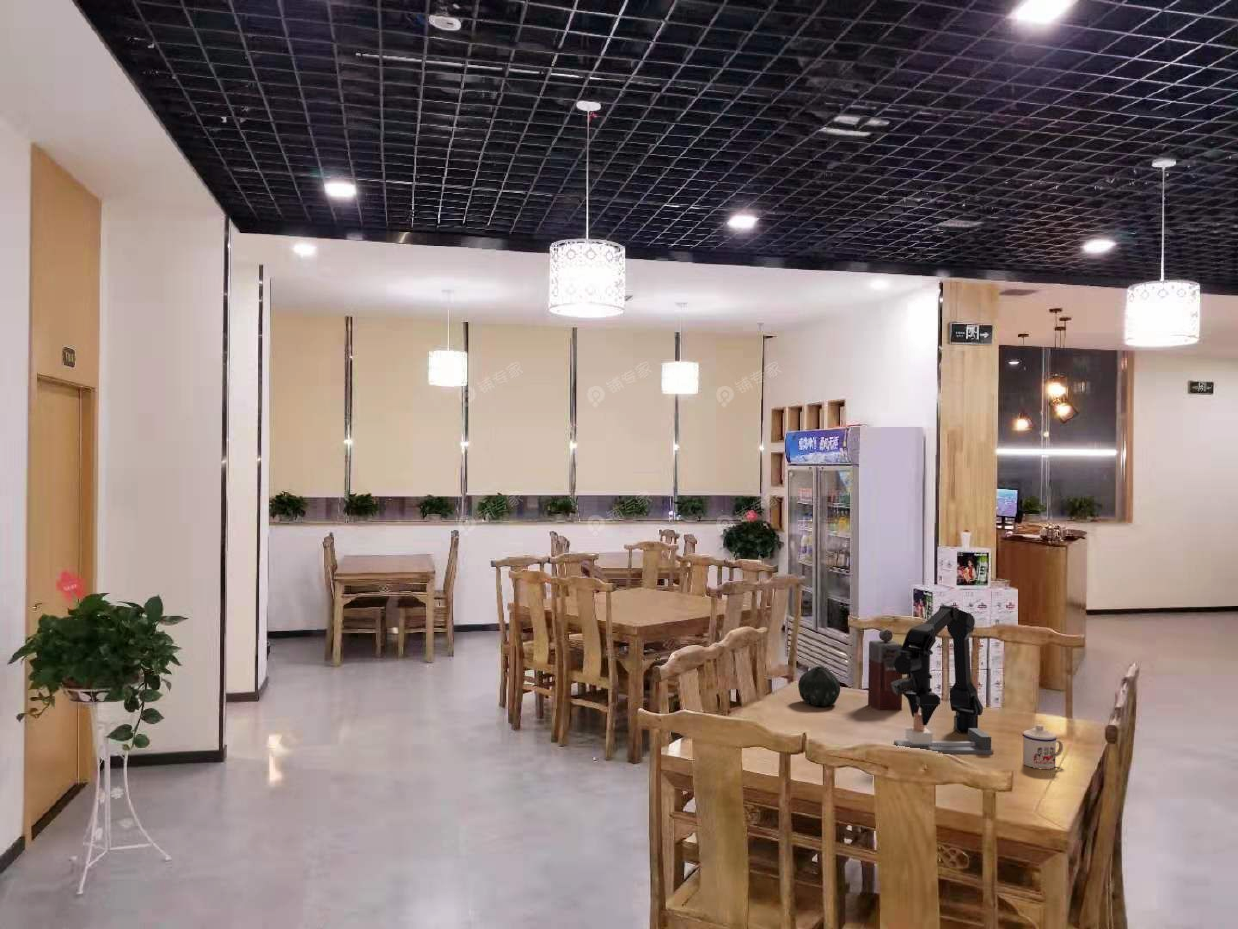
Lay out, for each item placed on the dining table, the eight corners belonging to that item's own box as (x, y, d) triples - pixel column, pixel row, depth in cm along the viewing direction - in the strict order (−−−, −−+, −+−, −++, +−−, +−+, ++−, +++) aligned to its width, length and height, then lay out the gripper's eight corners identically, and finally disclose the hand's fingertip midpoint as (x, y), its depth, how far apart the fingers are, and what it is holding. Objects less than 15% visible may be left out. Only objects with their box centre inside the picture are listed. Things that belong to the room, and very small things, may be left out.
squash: (820, 682, 357) (804, 655, 350) (853, 691, 345) (837, 663, 338) (800, 711, 350) (784, 684, 343) (833, 721, 338) (817, 693, 332)
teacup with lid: (1034, 771, 270) (1035, 730, 270) (1015, 761, 279) (1016, 721, 279) (1072, 769, 272) (1072, 728, 272) (1052, 759, 281) (1052, 720, 281)
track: (979, 744, 296) (979, 728, 296) (993, 753, 286) (993, 737, 286) (894, 743, 295) (894, 727, 295) (904, 753, 285) (905, 736, 285)
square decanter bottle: (881, 712, 334) (883, 632, 334) (867, 704, 345) (868, 627, 345) (905, 711, 336) (906, 632, 336) (890, 704, 347) (891, 627, 347)
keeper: (924, 738, 293) (925, 711, 294) (932, 744, 287) (932, 716, 287) (905, 737, 293) (906, 711, 293) (912, 743, 287) (913, 716, 287)
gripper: (884, 663, 299) (883, 713, 299) (904, 676, 281) (903, 729, 281) (919, 664, 300) (918, 713, 300) (941, 677, 281) (940, 729, 281)
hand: (919, 721), depth 290 cm, fingers open, 9 cm apart
